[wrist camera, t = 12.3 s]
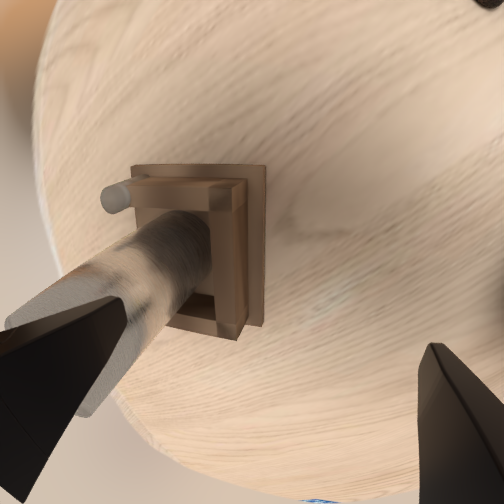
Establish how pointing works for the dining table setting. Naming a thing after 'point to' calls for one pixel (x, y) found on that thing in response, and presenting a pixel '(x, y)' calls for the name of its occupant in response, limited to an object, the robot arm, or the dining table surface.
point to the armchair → (221, 235)
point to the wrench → (491, 3)
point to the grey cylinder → (132, 289)
